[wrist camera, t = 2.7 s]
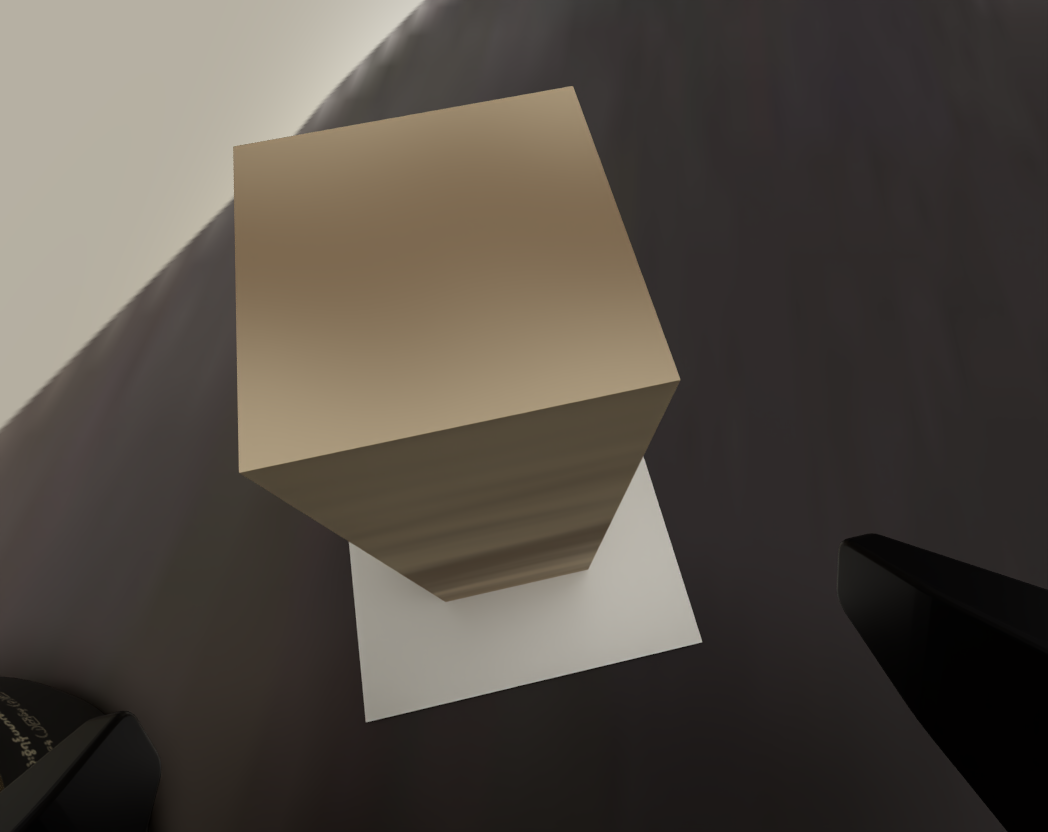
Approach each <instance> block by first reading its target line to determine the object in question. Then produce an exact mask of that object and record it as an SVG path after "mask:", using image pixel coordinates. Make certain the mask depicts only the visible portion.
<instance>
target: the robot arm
mask: <svg viewBox="0 0 1048 832" xmlns="http://www.w3.org/2000/svg"><path fill="white" fill-rule="evenodd" d="M837 594H838V599H839V602H840V604H841V606H842V608H843V610H844V612H845V613H846V615H847V616H848V618H849V619H850V621H851V622H852V624H853V625H854V627H855V628H856V630H857V631H858V632H859V634H860V635H861V637H862V638H863V640H864V641H865V643H866V644H867V646H868V647H869V649H870V650H871V652H872V653H873V655H874V656H875V658H876V659H877V661H878V662H879V664H880V665H881V667H882V668H883V670H884V671H885V673H886V674H887V676H888V677H889V679H890V680H891V682H892V683H893V685H894V686H895V688H896V689H897V691H898V692H899V694H900V695H901V697H902V698H903V700H904V701H905V703H906V704H907V705H908V707H909V708H910V710H911V711H912V713H913V714H914V715H915V717H916V718H917V720H918V721H919V722H920V723H921V725H922V726H923V727H924V729H925V730H926V731H927V732H928V734H929V735H930V736H931V738H932V739H933V740H934V741H935V743H936V744H937V745H938V746H939V747H940V749H941V750H942V751H943V752H944V754H945V755H946V756H947V757H948V759H949V760H950V761H951V762H952V764H953V765H954V766H955V767H956V768H957V770H958V771H959V772H960V773H961V775H962V776H963V777H964V778H965V780H966V781H967V782H968V783H969V785H970V786H971V787H972V788H973V790H974V791H975V792H976V793H977V794H978V796H979V797H980V798H981V799H982V801H983V802H984V803H985V804H986V806H987V807H988V808H989V809H990V811H991V812H992V813H993V814H994V815H995V817H996V818H997V819H998V820H999V822H1000V823H1001V824H1002V825H1003V827H1004V828H1005V829H1006V830H1007V832H1048V590H1047V589H1044V588H1041V587H1038V586H1035V585H1032V584H1029V583H1025V582H1022V581H1019V580H1016V579H1013V578H1010V577H1007V576H1004V575H1001V574H998V573H995V572H992V571H989V570H986V569H983V568H980V567H977V566H973V565H970V564H967V563H964V562H961V561H958V560H955V559H952V558H949V557H946V556H943V555H940V554H937V553H934V552H931V551H928V550H925V549H921V548H918V547H915V546H912V545H909V544H906V543H903V542H900V541H897V540H894V539H891V538H888V537H885V536H882V535H879V534H873V533H871V534H865V535H860V536H856V537H852V538H848V539H845V540H844V541H842V542H841V544H840V546H839V550H838V572H837ZM160 776H161V762H160V758H159V755H158V753H157V751H156V749H155V748H154V746H153V744H152V743H151V741H150V739H149V738H148V736H147V734H146V733H145V731H144V729H143V728H142V726H141V724H140V723H139V721H138V719H137V718H136V716H135V715H134V714H132V713H130V712H128V711H120V712H115V713H111V714H107V715H103V716H99V717H95V718H92V719H90V720H88V721H86V722H85V723H84V724H82V725H81V726H80V727H79V728H78V729H76V730H75V731H74V732H73V733H71V734H70V735H69V736H68V737H67V738H65V739H64V740H63V741H62V742H60V743H59V744H58V745H57V746H56V747H54V748H53V749H52V750H51V751H50V752H48V753H47V754H46V755H45V756H43V757H42V758H41V759H40V760H39V761H37V762H36V763H35V764H34V765H32V766H31V767H30V768H29V769H28V770H26V771H25V772H24V773H23V774H22V775H20V776H19V777H18V778H17V779H15V780H14V781H13V782H12V783H11V784H9V785H8V786H7V787H6V788H4V789H3V790H2V791H1V792H0V832H147V828H148V824H149V820H150V816H151V812H152V808H153V804H154V801H155V797H156V793H157V789H158V785H159V781H160Z"/></svg>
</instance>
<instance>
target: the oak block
mask: <svg viewBox="0 0 1048 832" xmlns="http://www.w3.org/2000/svg"><path fill="white" fill-rule="evenodd" d="M233 151H234V152H233V153H234V155H233V157H234V214H235V270H236V326H237V383H238V439H239V473H240V474H242V475H243V476H245V477H247V478H248V479H250V480H251V481H253V482H255V483H256V484H258V485H259V486H261V487H263V488H264V489H266V490H267V491H269V492H271V493H272V494H274V495H275V496H277V497H279V498H280V499H282V500H283V501H285V502H286V503H288V504H290V505H291V506H293V507H294V508H296V509H298V510H299V511H301V512H302V513H304V514H306V515H307V516H309V517H310V518H312V519H314V520H315V521H317V522H318V523H320V524H322V525H323V526H325V527H326V528H328V529H330V530H331V531H333V532H334V533H336V534H338V535H339V536H341V537H342V538H344V539H346V540H347V541H349V542H350V543H352V544H354V545H355V546H357V547H358V548H360V549H362V550H363V551H365V552H366V553H368V554H370V555H371V556H373V557H374V558H376V559H377V560H379V561H381V562H382V563H384V564H385V565H387V566H389V567H390V568H392V569H393V570H395V571H397V572H398V573H400V574H401V575H403V576H405V577H406V578H408V579H409V580H411V581H413V582H414V583H416V584H417V585H419V586H421V587H422V588H424V589H425V590H427V591H429V592H430V593H432V594H433V595H435V596H437V597H438V598H440V599H441V600H443V601H445V602H448V601H452V600H457V599H461V598H466V597H470V596H474V595H479V594H483V593H488V592H492V591H496V590H501V589H505V588H510V587H514V586H518V585H523V584H527V583H531V582H536V581H540V580H545V579H549V578H553V577H558V576H562V575H567V574H571V573H575V572H580V571H584V570H588V569H589V567H590V565H591V563H592V561H593V559H594V556H595V554H596V552H597V550H598V548H599V546H600V544H601V542H602V540H603V538H604V536H605V534H606V532H607V530H608V528H609V526H610V524H611V522H612V519H613V517H614V515H615V513H616V511H617V509H618V507H619V505H620V503H621V501H622V499H623V497H624V495H625V493H626V491H627V489H628V487H629V485H630V483H631V480H632V478H633V476H634V474H635V472H636V470H637V468H638V466H639V464H640V462H641V460H642V458H643V456H644V454H645V452H646V450H647V448H648V446H649V443H650V441H651V439H652V437H653V435H654V433H655V431H656V429H657V427H658V425H659V423H660V421H661V419H662V417H663V415H664V413H665V411H666V409H667V406H668V404H669V402H670V400H671V398H672V396H673V394H674V392H675V390H676V388H677V386H678V384H679V382H680V377H679V375H678V372H677V369H676V366H675V364H674V361H673V358H672V355H671V353H670V350H669V347H668V345H667V342H666V339H665V336H664V334H663V331H662V328H661V325H660V323H659V320H658V317H657V314H656V312H655V309H654V306H653V304H652V301H651V298H650V295H649V293H648V290H647V287H646V284H645V282H644V279H643V276H642V274H641V271H640V268H639V265H638V263H637V260H636V257H635V254H634V252H633V249H632V246H631V244H630V241H629V238H628V235H627V233H626V230H625V227H624V224H623V222H622V219H621V216H620V213H619V211H618V208H617V205H616V203H615V200H614V197H613V194H612V192H611V189H610V186H609V183H608V181H607V178H606V175H605V173H604V170H603V167H602V164H601V162H600V159H599V156H598V153H597V151H596V148H595V145H594V142H593V140H592V137H591V134H590V132H589V129H588V126H587V123H586V121H585V118H584V115H583V112H582V110H581V107H580V104H579V102H578V99H577V96H576V93H575V91H574V88H573V86H570V87H565V88H559V89H554V90H548V91H542V92H537V93H531V94H525V95H520V96H514V97H509V98H503V99H497V100H492V101H486V102H481V103H475V104H469V105H464V106H458V107H453V108H447V109H441V110H436V111H430V112H425V113H419V114H413V115H408V116H402V117H396V118H391V119H385V120H380V121H374V122H368V123H363V124H357V125H352V126H346V127H340V128H335V129H329V130H324V131H318V132H312V133H307V134H301V135H296V136H290V137H284V138H279V139H273V140H267V141H262V142H257V143H251V144H245V145H240V146H234V147H233Z"/></svg>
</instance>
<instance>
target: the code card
mask: <svg viewBox="0 0 1048 832" xmlns="http://www.w3.org/2000/svg"><path fill="white" fill-rule="evenodd" d="M349 548H350V559H351V569H352V580H353V591H354V601H355V612H356V623H357V634H358V644H359V655H360V666H361V676H362V687H363V698H364V708H365V719H366V722H370V721H374V720H378V719H383V718H387V717H391V716H395V715H399V714H404V713H408V712H412V711H416V710H420V709H425V708H429V707H433V706H437V705H441V704H446V703H450V702H454V701H458V700H462V699H467V698H471V697H475V696H479V695H483V694H488V693H492V692H496V691H500V690H504V689H509V688H513V687H517V686H521V685H525V684H530V683H534V682H538V681H542V680H546V679H551V678H555V677H559V676H563V675H567V674H572V673H576V672H580V671H584V670H588V669H592V668H597V667H601V666H605V665H609V664H613V663H618V662H622V661H626V660H630V659H634V658H639V657H643V656H647V655H651V654H655V653H660V652H664V651H668V650H672V649H676V648H681V647H685V646H689V645H693V644H697V643H702V639H701V636H700V633H699V630H698V627H697V624H696V621H695V617H694V614H693V611H692V608H691V605H690V602H689V599H688V595H687V592H686V589H685V586H684V583H683V580H682V576H681V573H680V570H679V567H678V564H677V561H676V558H675V554H674V551H673V548H672V545H671V542H670V539H669V536H668V532H667V529H666V526H665V523H664V520H663V517H662V514H661V510H660V507H659V504H658V501H657V498H656V495H655V492H654V488H653V485H652V482H651V479H650V476H649V473H648V470H647V466H646V463H645V460H644V457H643V458H642V460H641V462H640V464H639V466H638V468H637V470H636V472H635V474H634V476H633V478H632V480H631V483H630V485H629V487H628V489H627V491H626V493H625V495H624V497H623V499H622V501H621V503H620V505H619V507H618V509H617V511H616V513H615V515H614V517H613V519H612V522H611V524H610V526H609V528H608V530H607V532H606V534H605V536H604V538H603V540H602V542H601V544H600V546H599V548H598V550H597V552H596V554H595V556H594V559H593V561H592V563H591V565H590V567H589V569H588V570H584V571H580V572H575V573H571V574H567V575H562V576H558V577H553V578H549V579H545V580H540V581H536V582H531V583H527V584H523V585H518V586H514V587H510V588H505V589H501V590H496V591H492V592H488V593H483V594H479V595H474V596H470V597H466V598H461V599H457V600H452V601H448V602H445V601H443V600H441V599H440V598H438V597H437V596H435V595H433V594H432V593H430V592H429V591H427V590H425V589H424V588H422V587H421V586H419V585H417V584H416V583H414V582H413V581H411V580H409V579H408V578H406V577H405V576H403V575H401V574H400V573H398V572H397V571H395V570H393V569H392V568H390V567H389V566H387V565H385V564H384V563H382V562H381V561H379V560H377V559H376V558H374V557H373V556H371V555H370V554H368V553H366V552H365V551H363V550H362V549H360V548H358V547H357V546H355V545H354V544H352V543H350V542H349Z"/></svg>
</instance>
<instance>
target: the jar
mask: <svg viewBox="0 0 1048 832" xmlns="http://www.w3.org/2000/svg"><path fill="white" fill-rule="evenodd" d="M103 715H104V714H103V713H102V712H101V711H100V710H98V709H97V708H95V707H94V706H93V705H91V704H89V703H88V702H86V701H84V700H82V699H80V698H78V697H76V696H73V695H71V694H68V693H66V692H63V691H60V690H58V689H55V688H52V687H49V686H46V685H43V684H40V683H36V682H33V681H29V680H23V679H18V678H9V677H0V792H1V791H2V790H3V789H4V788H6V787H7V786H8V785H9V784H11V783H12V782H13V781H14V780H15V779H17V778H18V777H19V776H20V775H22V774H23V773H24V772H25V771H26V770H28V769H29V768H30V767H31V766H32V765H34V764H35V763H36V762H37V761H39V760H40V759H41V758H42V757H43V756H45V755H46V754H47V753H48V752H50V751H51V750H52V749H53V748H54V747H56V746H57V745H58V744H59V743H60V742H62V741H63V740H64V739H65V738H67V737H68V736H69V735H70V734H71V733H73V732H74V731H75V730H76V729H78V728H79V727H80V726H81V725H82V724H84V723H85V722H86V721H88V720H90V719H92V718H95V717H99V716H103ZM147 832H148V828H147Z"/></svg>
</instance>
